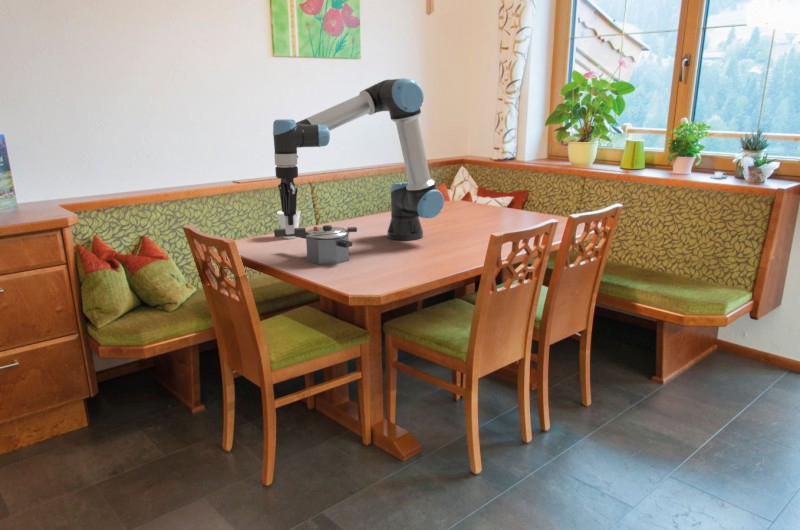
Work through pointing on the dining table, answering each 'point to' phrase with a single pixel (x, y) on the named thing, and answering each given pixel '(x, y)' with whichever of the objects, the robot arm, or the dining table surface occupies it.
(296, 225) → the cup
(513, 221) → the dining table surface
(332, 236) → the lid
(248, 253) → the dining table surface
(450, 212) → the dining table surface
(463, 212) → the dining table surface
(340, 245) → the cooker pot
